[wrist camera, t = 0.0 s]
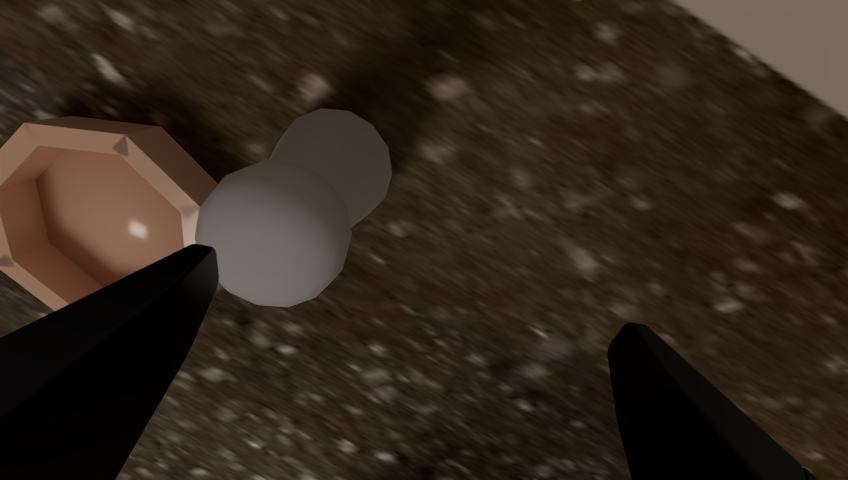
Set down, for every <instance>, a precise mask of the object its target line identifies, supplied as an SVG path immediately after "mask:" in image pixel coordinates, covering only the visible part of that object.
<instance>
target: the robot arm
mask: <svg viewBox="0 0 848 480" xmlns="http://www.w3.org/2000/svg"><path fill="white" fill-rule="evenodd" d="M218 282H219V272H218V263H217V254H216V250H215V249H214V248H213V247H211V246H206V245H201V244H191V245H189V246H187V247H184V248H182V249H180V250H178V251H176V252H174V253H172V254H170V255H168V256H166V257H164V258H162V259H160V260H158V261H156V262H154V263H152V264H150V265H148V266H146V267H144V268H142V269H140V270H138V271H136V272H134V273H132V274H130V275H128V276H126V277H124V278H122V279H119V280H117V281H115V282H113V283H111V284H109V285H107V286H105V287H103V288H101V289H99V290H97V291H95V292H93V293H91V294H89V295H87V296H85V297H83V298H81V299H79V300H77V301H75V302H73V303H71V304H69V305H67V306H65V307H63V308H61V309H59V310H56V311H54V312H52V313H50V314H48V315H46V316H44V317H42V318H40V319H38V320H36V321H34V322H32V323H30V324H28V325H26V326H24V327H22V328H20V329H18V330H16V331H14V332H12V333H10V334H8V335H6V336H4V337H2V338H0V480H115V479H116V477H117V476H118V474H119V472H120V470H121V469H122V467H123V465H124V463H125V462H126V460H127V458H128V457H129V455H130V453H131V451H132V450H133V448H134V446H135V444H136V443H137V441H138V439H139V438H140V436H141V434H142V432H143V431H144V429H145V427H146V425H147V424H148V422H149V420H150V419H151V417H152V415H153V413H154V412H155V410H156V408H157V406H158V405H159V403H160V401H161V400H162V398H163V396H164V394H165V393H166V391H167V389H168V387H169V386H170V384H171V382H172V381H173V379H174V377H175V375H176V374H177V372H178V370H179V368H180V367H181V365H182V363H183V362H184V360H185V358H186V356H187V354H188V352H189V350H190V348H191V346H192V344H193V342H194V339H195V337H196V335H197V333H198V330H199V328H200V326H201V323H202V321H203V319H204V316H205V314H206V312H207V309H208V307H209V305H210V302H211V300H212V298H213V295H214V293H215V291H216V288H217V286H218ZM608 362H609V369H610V376H611V383H612V390H613V397H614V404H615V411H616V416H617V421H618V426H619V430H620V434H621V438H622V442H623V446H624V450H625V454H626V458H627V462H628V466H629V470H630V474H631V478H632V480H818V479H817V478H816V477H815V476H814V475H813V474H811V473H810V472H809V471H808V470H807V469H805V468H802V465H801V464H800V463H799V462H798V461H797V460H796V459H795V458H793V457H792V456H791V455H790V454H789V453H788V452H787V451H786V450H785V449H783V448H782V447H781V446H780V445H779V444H778V443H777V442H776V441H775V440H773V439H772V438H771V437H770V436H769V435H768V434H767V433H766V432H765V431H763V430H762V429H761V428H760V427H759V426H758V425H757V424H756V423H754V422H753V421H752V420H751V419H750V418H749V417H748V416H747V415H746V414H744V413H743V412H742V411H741V410H740V409H739V408H738V407H737V406H736V405H734V404H733V403H732V402H731V401H730V400H729V399H728V398H727V397H726V396H724V395H723V394H722V393H721V392H720V391H719V390H718V389H717V388H715V387H714V386H713V385H712V384H711V383H710V382H709V381H708V380H707V379H705V378H704V377H703V376H702V375H701V374H700V373H699V372H698V371H697V370H695V369H694V368H693V367H692V366H691V365H690V364H689V363H688V362H687V361H685V360H684V359H683V358H682V357H681V356H680V355H679V354H678V353H677V352H675V351H674V350H673V349H672V348H671V347H670V346H669V345H668V344H667V343H665V342H664V341H663V340H662V339H661V338H660V337H659V336H658V335H656V334H655V333H654V332H653V331H652V330H651V329H650V328H649V327H647V326H645V325H642V324H636V323H626V324H625V325H624V326H623V327H622V328H621V330H620V331H619V332H618V334H617V335H616V337H615V338H614V339H613V341H612V342H611V344H610V345H609V348H608Z"/></svg>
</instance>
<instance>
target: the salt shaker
mask: <svg viewBox="0 0 848 480" xmlns="http://www.w3.org/2000/svg"><path fill="white" fill-rule="evenodd" d="M391 176H392V169H391V162H390V156H389V149H388V146H387V145H386V143H385V142H384V141H383V139H382V138H381V136H380V135H379V133H378V132H377V130H376V129H375V128H374V126H373V125H372V124H370V123H369V122H367V121H365V120H364V119H362V118H360V117H359V116H357V115H355V114H354V113H352V112H350V111H345V110H334V109H324V108H321V109H318V110H316V111H313V112H311V113H308V114H306V115H303V116H301V117H298V118H296V119H295V120H294V122H293V123H292V124H291V125H290V127H289V128H288V129H287V130H286V132H285V133H284V134H283V135H282V137H281V138H280V140H279V142H278V144H277V146H276V148H275V149H274V151H273V153H272V155H271V157H270V159H269V161H265V160H264V161H261V162H259V163H256V164H254V165H251V166H248V167H246V168H243V169H240V170H238V171H235V172H233V173H230V174H228V175H226V176H224V178H223V179H222V180H221V181H220V183H219V184H218V185H217V186H216V188H215V189H214V190H213V192H212V193H211V194H210V195H209V197H208V198H207V199H206V201H205V202H204V203H203V204H202V206H201V207H200V208H199V212H198V219H197V226H196V232H195V241H196V244H201V245H206V246H211V247H213V248H214V249H215V250H216V254H217V263H218V272H219V283H220V284H221V285H222V286H223V287H224V288H225V289H226V290H227V291H228V292H230V293H232V294H235V295H237V296H239V297H241V298H243V299H246V300H248V301H250V302H252V303H254V304H256V305H266V306H278V307H290V306H293V305H296V304H298V303H301V302H304V301H307V300H310V299H312V298H315V297H316V296H317V295H318V294H319V293H320V292H321V291H322V290H323V289H324V288H325V287H326V286H327V285H328V284H329V283H330V282H331V281H332V280H333V279H335V277H336V276H337V275H338V274H339V273H340V272H341V271H342V269H343V266H344V262H345V258H346V254H347V251H348V247H349V243H350V239H351V235H352V232H351V227H352V226H354V225H355V224H356V223H358V222H359V221H360V220H362V219H363V218H364V217H366V216H367V215H368V214H369V213H370V212H371V211H372V210H373V209H374V208H375V207H376V206H377V205H378V204H379V203H380V202H381V201H382V200H383V199H384V198H385V197H386V193H387V190H388V187H389V183H390V180H391Z"/></svg>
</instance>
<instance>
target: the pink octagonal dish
mask: <svg viewBox="0 0 848 480" xmlns="http://www.w3.org/2000/svg"><path fill="white" fill-rule="evenodd" d="M217 185H218V183H217V182H216V181H215V180H214V179H213V178H212V177H211V176H210V175H209V174H208V173H207V172H206V171H205V170H204V169H203V168H202V167H201V166H200V165H199V164H198V163H197V162H196V161H195V160H194V159H193V158H192V157H191V156H190V155H189V154H188V153H187V152H186V151H185V150H184V149H183V148H182V147H181V146H180V145H179V144H178V143H177V142H176V141H175V140H174V139H173V138H172V137H171V136H170V135H169V134H168V133H167V132H166V131H165V130H164V129H163V128H162V127H159V126H151V125H143V124H135V123H127V122H118V121H110V120H102V119H94V118H85V117H77V116H68V117H61V118H53V119H46V120H39V121H31V122H24V124H23V125H22V126H21V127H20V128H19V129H18V130H17V131H16V132H15V133H14V135H13V136H12V137H11V138H10V139H9V140H8V141H7V142H6V143H5V144H4V146H3V147H2V148H1V149H0V270H2V271H3V272H4V273H6V274H7V275H8V276H9V277H11V278H12V279H13V280H15V281H16V282H17V283H19V284H20V285H21V286H23V287H24V288H25V289H26V290H28V291H29V292H30V293H32V294H33V295H34V296H36V297H37V298H38V299H40V300H41V301H42V302H43V303H45V304H46V305H47V306H49V307H50V308H51V309H53V310H54V311H56V310H59V309H61V308H63V307H65V306H67V305H69V304H71V303H73V302H75V301H77V300H79V299H81V298H83V297H85V296H87V295H89V294H91V293H93V292H95V291H97V290H99V289H101V288H103V287H105V286H107V285H109V284H111V283H113V282H115V281H117V280H119V279H122V278H124V277H126V276H128V275H130V274H132V273H134V272H136V271H138V270H140V269H142V268H144V267H146V266H148V265H150V264H152V263H154V262H156V261H158V260H160V259H162V258H164V257H166V256H168V255H170V254H172V253H174V252H176V251H178V250H180V249H182V248H184V247H187V246H189V245H191V244H196V241H195V232H196V226H197V219H198V212H199V208H200V207H201V206H202V204H203V203H204V202H205V201H206V199H207V198H208V197H209V195H210V194H211V193H212V192H213V190H214V189H215V188H216V186H217Z"/></svg>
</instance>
